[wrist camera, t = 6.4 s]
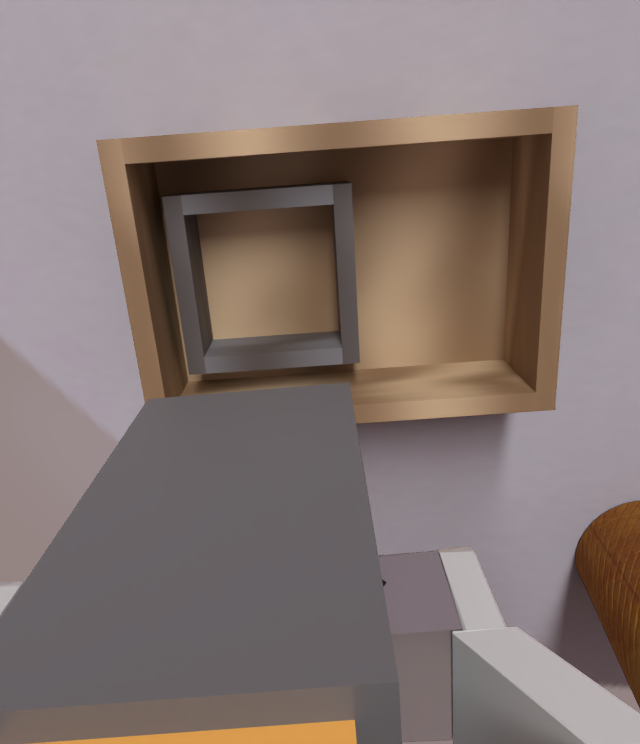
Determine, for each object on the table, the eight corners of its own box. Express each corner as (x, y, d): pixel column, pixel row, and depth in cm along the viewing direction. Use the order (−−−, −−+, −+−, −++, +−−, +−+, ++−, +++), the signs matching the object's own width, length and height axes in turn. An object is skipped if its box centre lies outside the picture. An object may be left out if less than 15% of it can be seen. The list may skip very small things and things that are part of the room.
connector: (349, 382, 12) (420, 804, 4) (361, 550, 13) (430, 1098, 5) (148, 398, 12) (-155, 846, 4) (181, 564, 13) (2, 1125, 5)
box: (525, 115, 24) (578, 105, 19) (513, 367, 28) (554, 409, 23) (137, 143, 24) (96, 140, 19) (178, 390, 28) (151, 437, 23)
